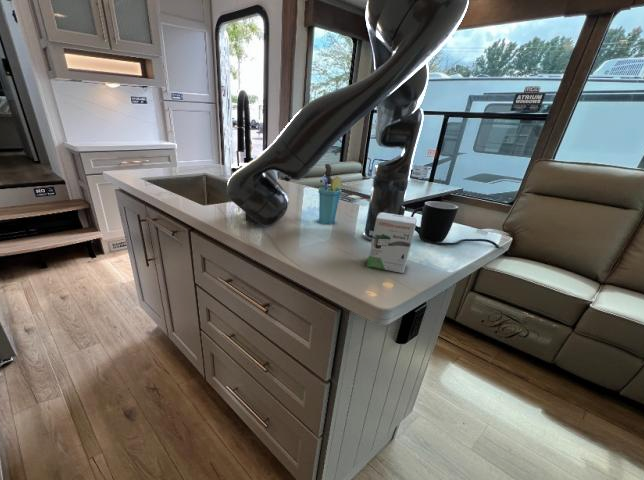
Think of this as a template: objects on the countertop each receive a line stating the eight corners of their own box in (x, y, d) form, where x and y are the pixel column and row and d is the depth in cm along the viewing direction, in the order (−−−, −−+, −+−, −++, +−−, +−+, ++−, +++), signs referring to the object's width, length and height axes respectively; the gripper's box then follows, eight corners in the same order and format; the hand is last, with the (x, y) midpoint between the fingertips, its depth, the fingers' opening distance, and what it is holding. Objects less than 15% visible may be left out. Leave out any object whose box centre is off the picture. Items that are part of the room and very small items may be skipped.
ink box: (366, 266, 75) (375, 216, 69) (369, 259, 79) (378, 211, 73) (404, 273, 72) (416, 222, 66) (405, 265, 76) (417, 216, 70)
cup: (328, 230, 98) (333, 179, 91) (305, 225, 101) (309, 176, 94) (343, 220, 109) (349, 174, 102) (323, 216, 112) (327, 171, 105)
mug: (450, 238, 96) (461, 204, 91) (444, 246, 90) (455, 210, 85) (411, 230, 102) (418, 198, 97) (402, 237, 95) (410, 203, 90)
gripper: (294, 161, 66) (289, 153, 80) (225, 158, 65) (233, 150, 79) (292, 197, 70) (288, 184, 84) (227, 196, 69) (234, 182, 83)
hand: (261, 168), depth 81 cm, fingers open, 8 cm apart
